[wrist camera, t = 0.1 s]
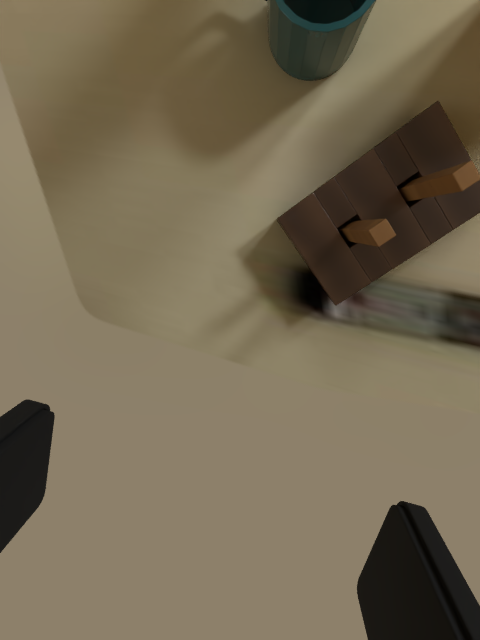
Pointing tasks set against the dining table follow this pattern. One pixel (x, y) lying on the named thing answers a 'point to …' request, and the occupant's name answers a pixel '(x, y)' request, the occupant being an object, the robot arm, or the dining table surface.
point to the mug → (315, 34)
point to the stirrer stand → (381, 206)
